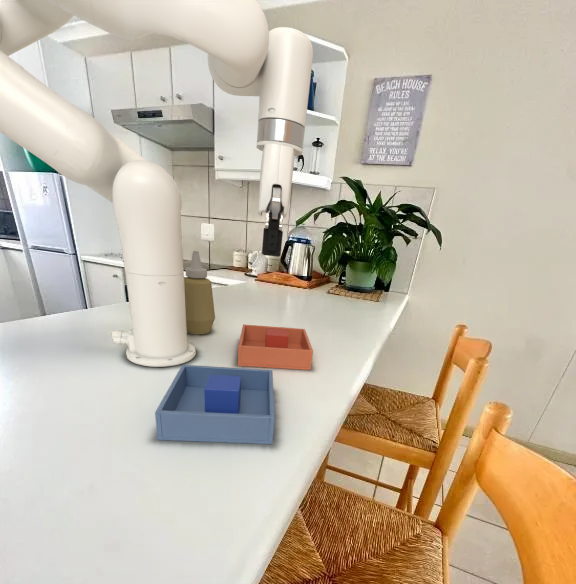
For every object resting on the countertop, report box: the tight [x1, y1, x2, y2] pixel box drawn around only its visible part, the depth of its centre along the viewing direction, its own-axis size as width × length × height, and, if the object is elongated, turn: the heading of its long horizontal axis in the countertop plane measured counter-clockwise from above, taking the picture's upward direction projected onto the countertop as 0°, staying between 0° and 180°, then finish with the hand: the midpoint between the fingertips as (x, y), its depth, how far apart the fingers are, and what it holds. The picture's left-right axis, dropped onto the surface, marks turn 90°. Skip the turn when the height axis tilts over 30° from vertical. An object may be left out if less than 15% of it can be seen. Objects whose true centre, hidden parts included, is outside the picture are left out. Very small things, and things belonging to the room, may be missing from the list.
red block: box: [265, 328, 289, 348], centre depth 68 cm, size 4×4×4 cm
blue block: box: [204, 375, 241, 414], centre depth 45 cm, size 4×4×4 cm
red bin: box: [237, 324, 314, 371], centre depth 68 cm, size 14×14×4 cm
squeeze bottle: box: [184, 250, 216, 335], centre depth 74 cm, size 8×8×18 cm
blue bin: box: [154, 364, 276, 445], centre depth 46 cm, size 14×14×4 cm
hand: (270, 253), depth 60 cm, fingers open, 9 cm apart
